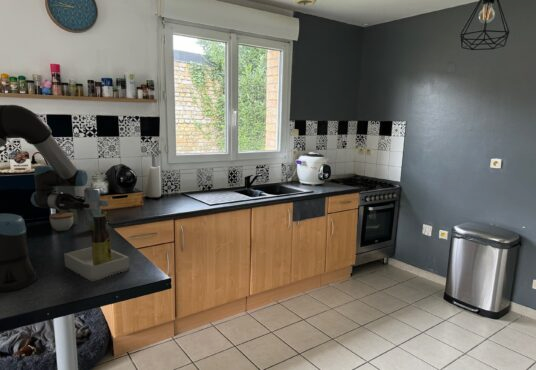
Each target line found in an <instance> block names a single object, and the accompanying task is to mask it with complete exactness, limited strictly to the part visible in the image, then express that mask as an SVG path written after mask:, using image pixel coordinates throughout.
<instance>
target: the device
mask: <svg viewBox="0 0 536 370" xmlns="http://www.w3.org/2000/svg"><path fill="white" fill-rule="evenodd" d="M55 191H56V192H59V193H69V194H72V195H73V197H77V196H76V186H55ZM77 210H78V209H70V210H61V209H59V210H57V213H60V211H62V213H63V212H70V213H73V224H72V226H78V225H79V222H78V221H79V220H78V211H77Z"/></svg>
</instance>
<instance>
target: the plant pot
mask: <svg viewBox="0 0 536 370" xmlns="http://www.w3.org/2000/svg"><path fill="white" fill-rule="evenodd" d="M101 215H105V216H106V215H107V211H105V210H101ZM89 227H90V228H89V229H90V231H92V232H93V231H94V225H89Z"/></svg>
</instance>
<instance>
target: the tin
mask: <svg viewBox="0 0 536 370" xmlns="http://www.w3.org/2000/svg"><path fill="white" fill-rule="evenodd" d="M100 190H101V189H100V188H98V187H93V188H85V189H84V190H83V193H84V197H85V202H91V203H97V209H96V210H94V209H85V220H86V221H85V222H86V225H88V226H90V225H94V220H93V216H95V215H101V211H102V209H101V207H102V206H101V204H100V200H101V191H100Z"/></svg>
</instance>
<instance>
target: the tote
mask: <svg viewBox="0 0 536 370" xmlns="http://www.w3.org/2000/svg"><path fill="white" fill-rule="evenodd" d="M63 255H64V256H63V258H64V267H66V268H67V269H69V270H71V271H73V272H75V273H76V274H78V275H79V274H80V275H79V276H81V277H83V278H85V279H87V280H88V281H90V282H91V283H92V282H93V283H94V282H95V281H99V280H102V279H105V277H106V278H108V276H109V277H112V276H115V275H118V274H117V273H119V274H121V273H120V272H122V273H124V271H125V272H127V270H128V271H130V256H127V255H125V254H123V253H121V252H118V251H116V250H113V249H112V248H111V256H112V261H110V262H106V263H103V264H99V265H95V266H94V265H93V255H92V246H90V247H85V248H81V249H78V250H72V251H68V252H64V254H63ZM114 274H115V275H114ZM111 275H112V276H111Z"/></svg>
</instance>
